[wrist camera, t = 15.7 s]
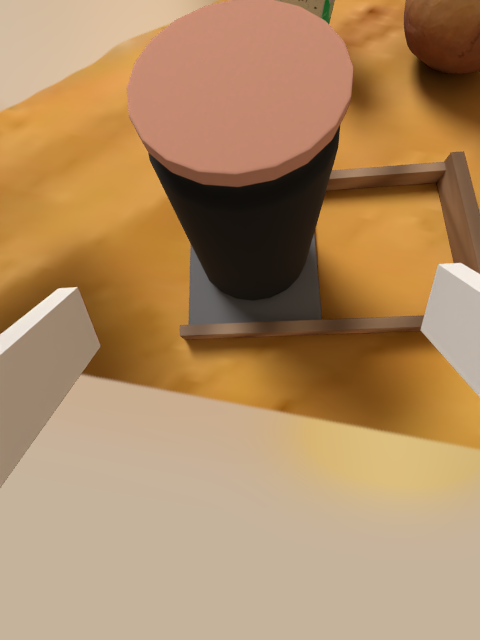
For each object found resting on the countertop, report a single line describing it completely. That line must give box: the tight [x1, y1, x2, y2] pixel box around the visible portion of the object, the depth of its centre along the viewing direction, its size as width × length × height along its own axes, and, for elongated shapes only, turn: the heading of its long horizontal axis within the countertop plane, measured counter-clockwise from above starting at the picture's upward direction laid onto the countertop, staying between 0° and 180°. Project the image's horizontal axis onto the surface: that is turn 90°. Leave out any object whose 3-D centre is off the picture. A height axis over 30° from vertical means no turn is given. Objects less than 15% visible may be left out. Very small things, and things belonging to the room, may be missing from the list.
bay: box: [180, 152, 480, 339], centre depth 30 cm, size 28×17×3 cm, turn 91°
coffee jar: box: [127, 0, 354, 301], centre depth 23 cm, size 11×11×18 cm
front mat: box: [189, 235, 322, 325], centre depth 32 cm, size 13×15×1 cm
